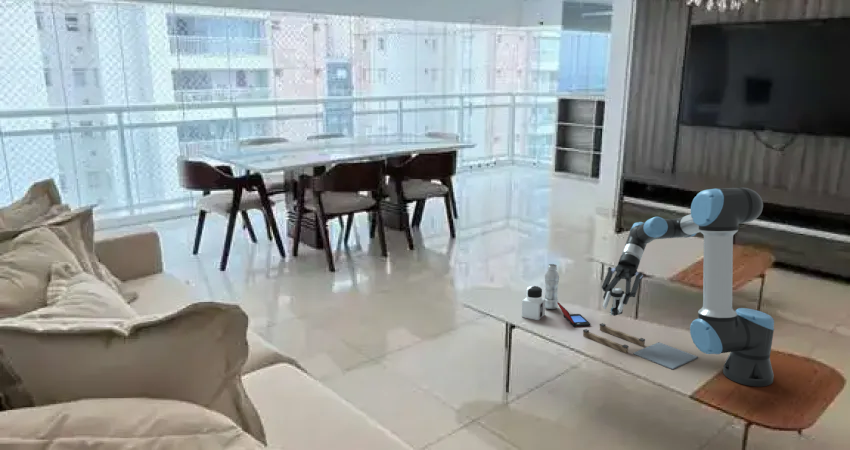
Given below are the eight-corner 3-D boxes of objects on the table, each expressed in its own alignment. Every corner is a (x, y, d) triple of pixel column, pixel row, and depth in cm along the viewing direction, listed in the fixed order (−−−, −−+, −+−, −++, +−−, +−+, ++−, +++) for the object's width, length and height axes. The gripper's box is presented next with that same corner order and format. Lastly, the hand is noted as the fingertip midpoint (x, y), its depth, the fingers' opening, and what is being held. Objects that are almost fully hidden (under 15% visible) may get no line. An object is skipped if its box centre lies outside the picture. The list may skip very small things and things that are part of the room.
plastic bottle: (542, 310, 269) (544, 267, 265) (543, 305, 276) (545, 262, 271) (557, 311, 268) (559, 268, 263) (558, 306, 274) (560, 263, 270)
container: (545, 314, 264) (546, 286, 261) (538, 320, 257) (539, 291, 255) (528, 311, 268) (529, 283, 265) (521, 317, 261) (522, 288, 259)
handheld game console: (591, 326, 251) (592, 309, 249) (566, 328, 250) (567, 311, 248) (579, 315, 263) (580, 299, 262) (555, 317, 262) (556, 300, 260)
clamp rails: (644, 345, 232) (645, 339, 232) (625, 353, 226) (625, 346, 225) (602, 329, 248) (602, 323, 247) (582, 336, 241) (583, 329, 241)
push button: (615, 318, 230) (616, 293, 228) (603, 314, 234) (604, 289, 232) (626, 314, 234) (627, 289, 232) (614, 310, 238) (615, 286, 236)
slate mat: (697, 357, 221) (697, 356, 221) (672, 369, 212) (672, 368, 212) (658, 343, 234) (658, 342, 234) (633, 353, 225) (633, 352, 225)
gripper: (656, 267, 237) (637, 319, 228) (610, 259, 248) (591, 308, 239) (652, 256, 231) (633, 309, 223) (606, 249, 243) (586, 299, 234)
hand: (611, 308), depth 231 cm, fingers closed on push button, 5 cm apart
